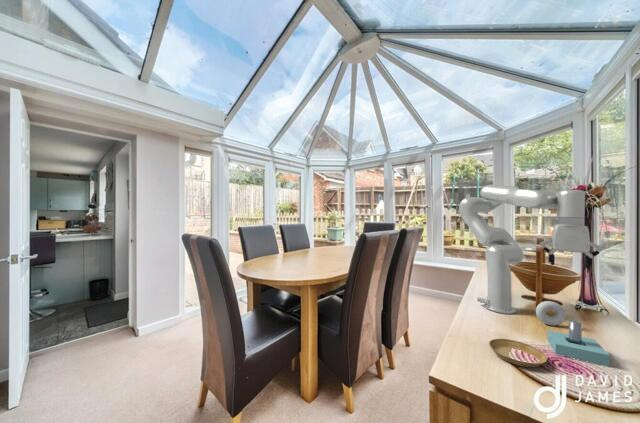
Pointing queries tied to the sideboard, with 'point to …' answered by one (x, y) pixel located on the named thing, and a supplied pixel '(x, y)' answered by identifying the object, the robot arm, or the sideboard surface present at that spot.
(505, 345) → the plant saucer
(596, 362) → the slot block
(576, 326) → the steel pin
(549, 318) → the donut
